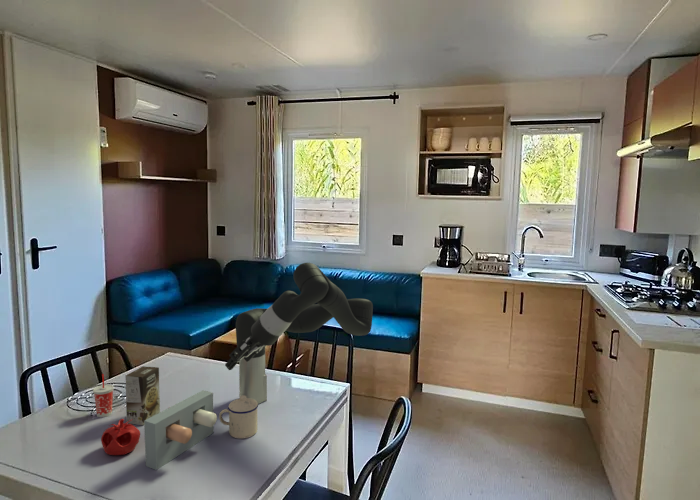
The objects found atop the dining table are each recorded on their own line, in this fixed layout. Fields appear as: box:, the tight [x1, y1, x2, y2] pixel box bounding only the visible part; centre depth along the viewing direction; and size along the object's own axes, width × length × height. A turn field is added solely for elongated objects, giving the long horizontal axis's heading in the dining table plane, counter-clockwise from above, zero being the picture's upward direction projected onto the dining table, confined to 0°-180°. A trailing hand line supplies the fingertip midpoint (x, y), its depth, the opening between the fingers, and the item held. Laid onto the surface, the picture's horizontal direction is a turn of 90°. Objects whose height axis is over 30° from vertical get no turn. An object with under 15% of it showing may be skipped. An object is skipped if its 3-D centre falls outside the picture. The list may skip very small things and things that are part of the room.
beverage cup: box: [92, 373, 115, 418], centre depth 150 cm, size 6×6×14 cm
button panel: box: [143, 389, 215, 471], centre depth 131 cm, size 4×22×13 cm, turn 155°
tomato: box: [100, 418, 141, 456], centre depth 130 cm, size 10×10×9 cm
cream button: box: [193, 409, 218, 427], centre depth 134 cm, size 7×4×4 cm, turn 65°
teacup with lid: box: [218, 395, 259, 439], centre depth 141 cm, size 12×9×12 cm
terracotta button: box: [166, 423, 192, 444], centre depth 125 cm, size 7×4×4 cm, turn 65°
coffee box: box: [125, 365, 161, 426], centre depth 148 cm, size 9×6×16 cm
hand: (236, 363), depth 125 cm, fingers open, 8 cm apart
